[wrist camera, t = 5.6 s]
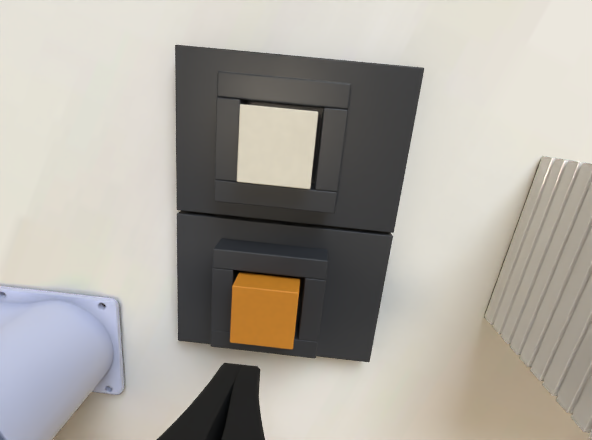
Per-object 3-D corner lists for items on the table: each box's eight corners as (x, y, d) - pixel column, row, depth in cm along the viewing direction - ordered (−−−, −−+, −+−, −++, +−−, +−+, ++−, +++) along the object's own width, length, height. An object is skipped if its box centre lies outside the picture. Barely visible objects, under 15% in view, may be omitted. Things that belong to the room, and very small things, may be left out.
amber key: (236, 324, 21) (229, 342, 19) (239, 271, 20) (232, 285, 18) (294, 331, 21) (293, 350, 19) (300, 278, 20) (299, 292, 18)
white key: (243, 176, 18) (236, 182, 16) (246, 105, 17) (239, 103, 15) (310, 183, 18) (310, 189, 16) (318, 112, 17) (318, 111, 15)
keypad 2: (183, 205, 21) (163, 218, 18) (183, 49, 19) (159, 36, 16) (389, 226, 21) (401, 243, 18) (417, 70, 18) (436, 61, 16)
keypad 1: (184, 330, 24) (166, 358, 21) (184, 208, 21) (163, 222, 19) (366, 350, 24) (374, 382, 21) (389, 229, 21) (400, 247, 18)
